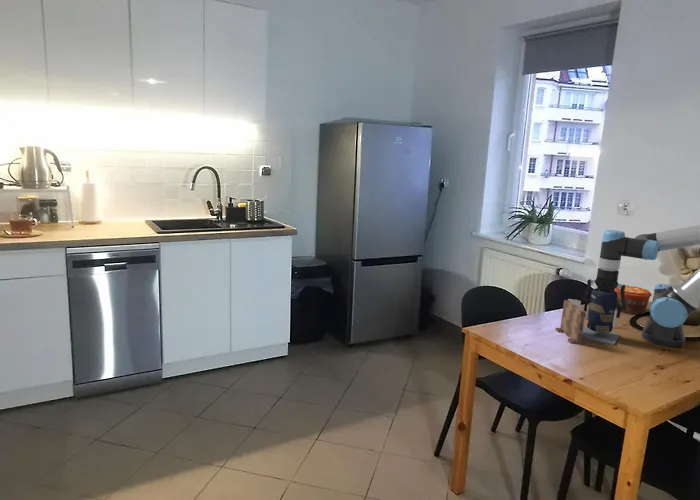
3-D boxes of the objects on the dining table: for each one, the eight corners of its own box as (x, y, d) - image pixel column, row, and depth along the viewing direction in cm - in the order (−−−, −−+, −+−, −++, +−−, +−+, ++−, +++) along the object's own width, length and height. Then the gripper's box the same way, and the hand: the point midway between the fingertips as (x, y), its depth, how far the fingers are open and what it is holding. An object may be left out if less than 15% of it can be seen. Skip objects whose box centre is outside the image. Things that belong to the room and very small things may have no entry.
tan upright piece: (554, 329, 214) (558, 299, 211) (568, 329, 214) (573, 300, 211) (571, 343, 198) (575, 312, 196) (586, 344, 198) (591, 312, 196)
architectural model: (566, 312, 240) (569, 297, 239) (582, 315, 237) (585, 299, 235) (565, 313, 237) (567, 298, 236) (581, 317, 234) (583, 301, 232)
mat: (619, 335, 210) (619, 334, 210) (614, 345, 199) (614, 343, 199) (583, 327, 218) (583, 326, 218) (576, 336, 207) (576, 335, 206)
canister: (616, 335, 203) (623, 292, 200) (592, 334, 203) (599, 290, 200) (605, 327, 213) (611, 285, 209) (582, 325, 213) (588, 284, 209)
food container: (604, 305, 252) (607, 284, 250) (633, 305, 254) (637, 285, 252) (624, 316, 237) (628, 293, 235) (656, 316, 239) (660, 294, 237)
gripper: (640, 272, 200) (631, 326, 204) (580, 262, 212) (573, 313, 216) (638, 275, 194) (629, 331, 198) (577, 265, 206) (569, 318, 210)
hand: (600, 322), depth 207 cm, fingers closed on canister, 9 cm apart
